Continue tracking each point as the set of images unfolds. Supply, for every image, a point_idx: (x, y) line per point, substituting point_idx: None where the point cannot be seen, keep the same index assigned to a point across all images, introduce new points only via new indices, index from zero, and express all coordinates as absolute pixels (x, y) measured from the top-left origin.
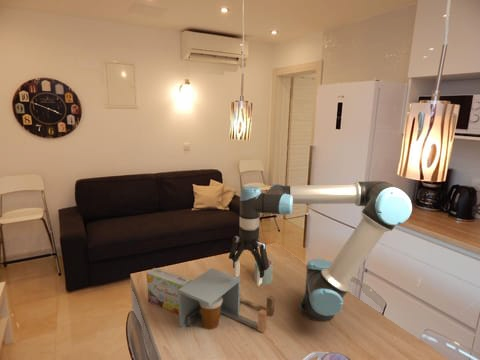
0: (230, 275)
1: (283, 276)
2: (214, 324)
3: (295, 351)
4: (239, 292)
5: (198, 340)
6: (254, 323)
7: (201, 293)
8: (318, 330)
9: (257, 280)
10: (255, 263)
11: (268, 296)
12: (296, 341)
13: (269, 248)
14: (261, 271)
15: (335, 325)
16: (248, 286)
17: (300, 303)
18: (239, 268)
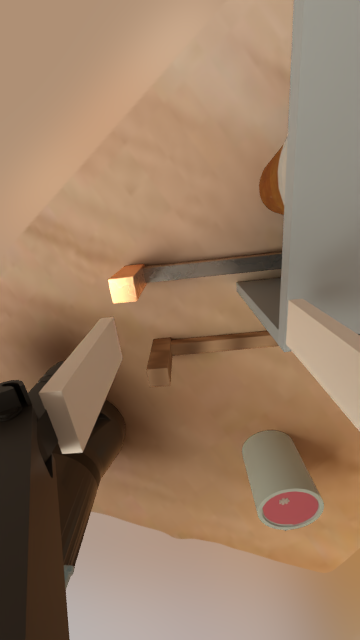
0: None
1: (229, 486)
2: (265, 169)
3: (16, 264)
4: (258, 315)
5: (272, 76)
6: (160, 272)
7: None
8: (32, 368)
9: (97, 333)
10: (313, 491)
11: (168, 376)
12: (40, 299)
13: (330, 557)
14: (32, 400)
15: None
16: (287, 405)
17: (113, 420)
18: (311, 370)
